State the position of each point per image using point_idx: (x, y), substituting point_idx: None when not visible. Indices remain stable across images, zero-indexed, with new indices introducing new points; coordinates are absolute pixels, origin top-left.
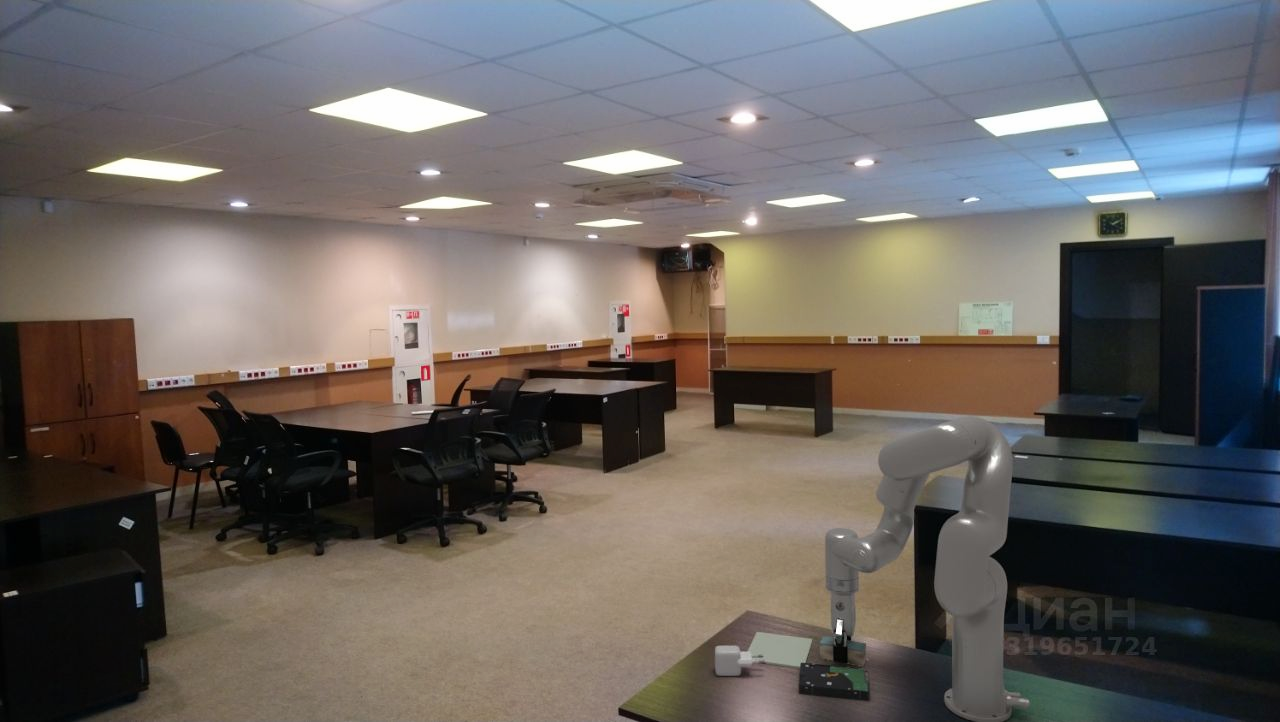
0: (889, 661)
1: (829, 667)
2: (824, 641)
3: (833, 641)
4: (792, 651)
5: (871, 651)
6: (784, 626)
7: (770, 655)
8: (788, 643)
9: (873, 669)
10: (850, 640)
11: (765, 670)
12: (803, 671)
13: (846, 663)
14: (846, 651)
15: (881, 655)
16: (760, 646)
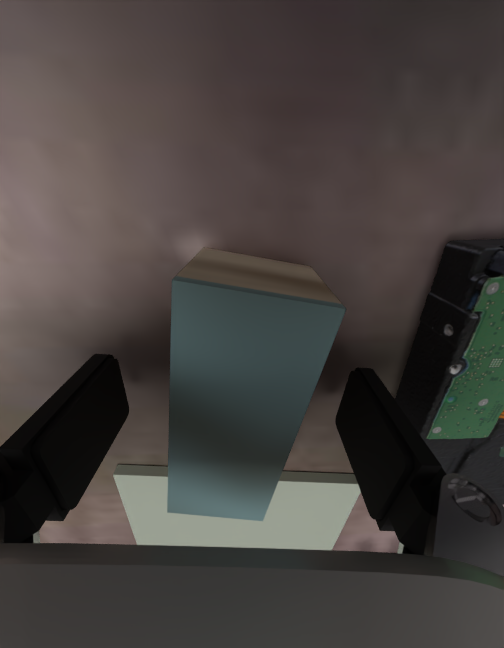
0: (178, 41)
1: (427, 438)
2: (239, 508)
3: (223, 477)
4: None
5: (72, 210)
6: (51, 525)
7: (290, 545)
8: (189, 521)
9: (338, 198)
10: (100, 374)
11: (366, 536)
12: None
13: (367, 369)
14: (409, 432)
15: (97, 125)
16: None
